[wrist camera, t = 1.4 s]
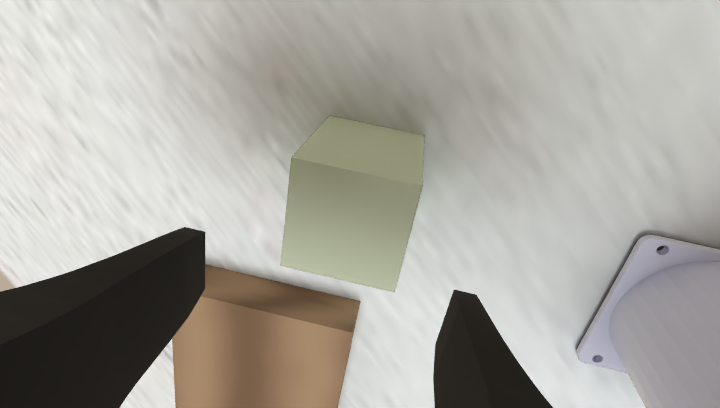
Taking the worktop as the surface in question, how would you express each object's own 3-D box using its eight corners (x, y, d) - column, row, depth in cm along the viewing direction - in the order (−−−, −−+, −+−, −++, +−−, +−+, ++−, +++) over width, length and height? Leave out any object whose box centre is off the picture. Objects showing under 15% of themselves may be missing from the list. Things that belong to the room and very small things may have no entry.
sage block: (424, 135, 19) (422, 186, 14) (403, 219, 21) (394, 292, 16) (329, 115, 19) (291, 157, 14) (317, 200, 21) (280, 265, 16)
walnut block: (361, 296, 24) (352, 332, 21) (337, 409, 29) (327, 451, 26) (198, 258, 25) (169, 288, 22) (199, 374, 29) (175, 411, 26)
